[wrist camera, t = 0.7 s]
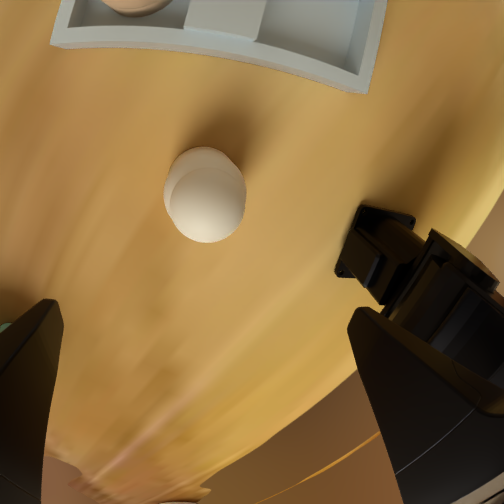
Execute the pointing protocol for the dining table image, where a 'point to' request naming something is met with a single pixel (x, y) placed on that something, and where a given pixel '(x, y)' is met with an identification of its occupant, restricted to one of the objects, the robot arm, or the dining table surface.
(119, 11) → the brown egg
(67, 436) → the dining table surface
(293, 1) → the egg carton
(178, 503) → the decorative vase
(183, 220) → the cream egg
